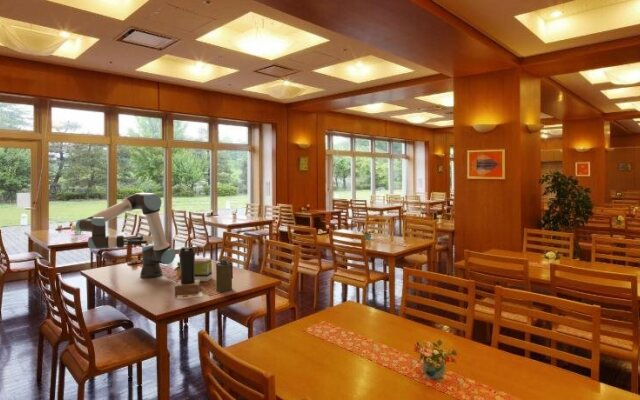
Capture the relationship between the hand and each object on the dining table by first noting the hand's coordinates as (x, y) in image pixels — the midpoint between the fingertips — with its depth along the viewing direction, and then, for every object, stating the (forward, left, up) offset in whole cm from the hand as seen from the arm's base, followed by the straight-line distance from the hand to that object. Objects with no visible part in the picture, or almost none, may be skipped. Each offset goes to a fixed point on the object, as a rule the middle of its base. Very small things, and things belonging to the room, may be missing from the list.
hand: (153, 239), depth 256 cm
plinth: (+6, +22, -34) cm, 41 cm away
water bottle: (+5, +22, -28) cm, 36 cm away
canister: (+5, +45, -34) cm, 56 cm away
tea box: (-23, +26, -34) cm, 49 cm away
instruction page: (+14, +24, -34) cm, 44 cm away
